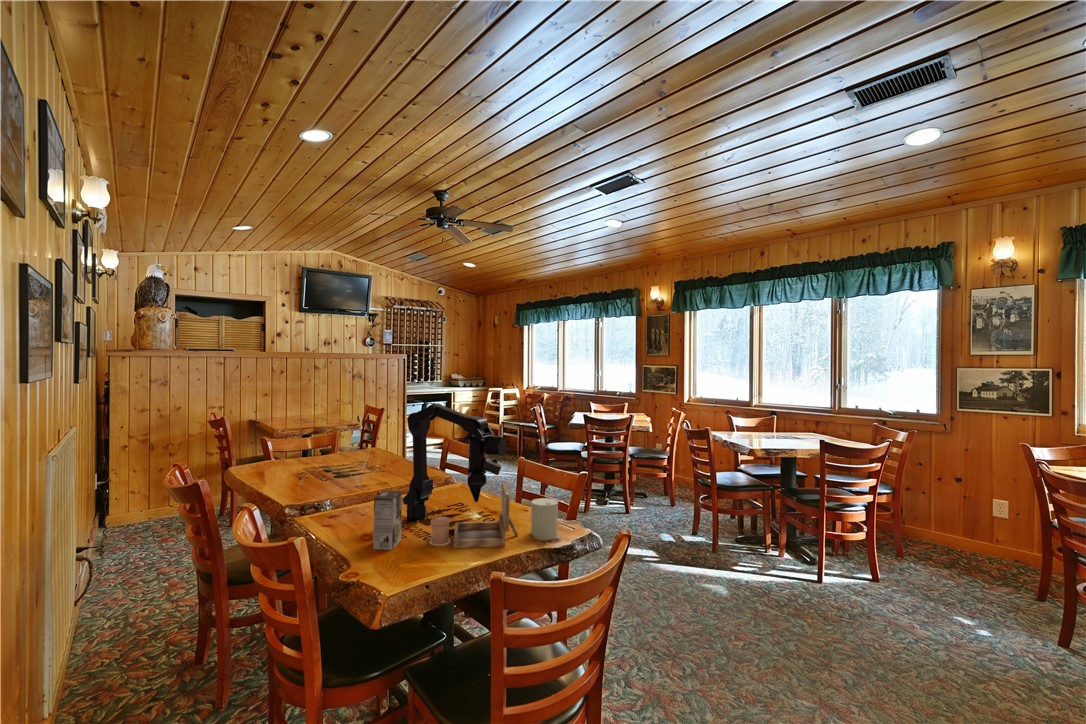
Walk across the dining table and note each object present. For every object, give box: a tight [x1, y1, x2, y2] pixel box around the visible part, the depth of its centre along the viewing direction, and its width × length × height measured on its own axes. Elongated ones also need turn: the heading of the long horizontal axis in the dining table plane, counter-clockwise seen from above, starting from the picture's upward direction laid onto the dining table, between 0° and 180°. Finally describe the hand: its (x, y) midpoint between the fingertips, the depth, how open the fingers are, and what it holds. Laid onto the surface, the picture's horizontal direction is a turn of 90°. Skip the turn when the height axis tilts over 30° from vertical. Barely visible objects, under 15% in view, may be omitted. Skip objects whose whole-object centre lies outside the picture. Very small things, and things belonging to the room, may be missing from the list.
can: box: [530, 497, 559, 541], centre depth 175 cm, size 9×9×12 cm
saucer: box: [428, 538, 452, 547], centre depth 165 cm, size 7×7×1 cm
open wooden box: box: [453, 480, 519, 549], centre depth 170 cm, size 21×19×17 cm
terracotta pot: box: [430, 516, 451, 544], centre depth 165 cm, size 6×6×7 cm
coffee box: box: [372, 490, 403, 551], centre depth 164 cm, size 9×6×16 cm
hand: (476, 498), depth 179 cm, fingers open, 9 cm apart
